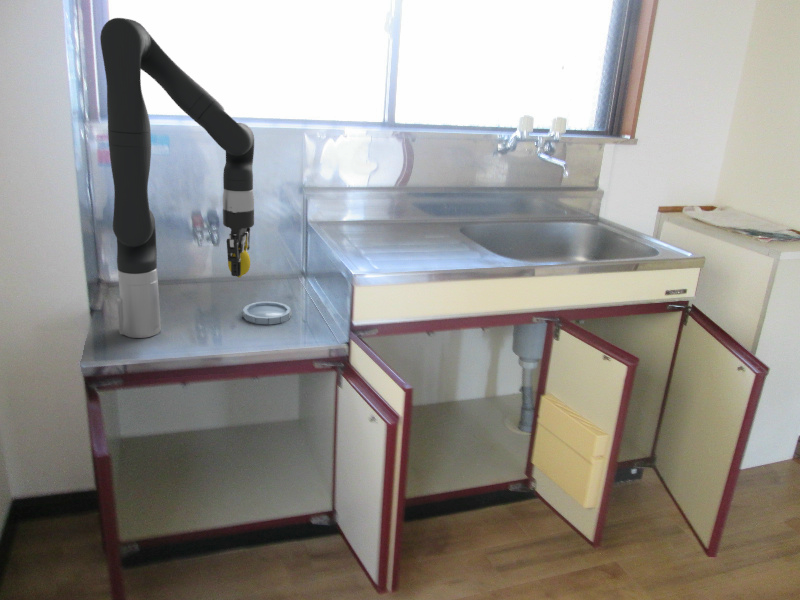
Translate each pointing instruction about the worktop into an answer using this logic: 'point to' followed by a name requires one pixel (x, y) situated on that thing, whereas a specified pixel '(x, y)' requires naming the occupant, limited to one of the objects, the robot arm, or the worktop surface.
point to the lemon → (242, 263)
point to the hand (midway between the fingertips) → (239, 271)
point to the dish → (267, 312)
